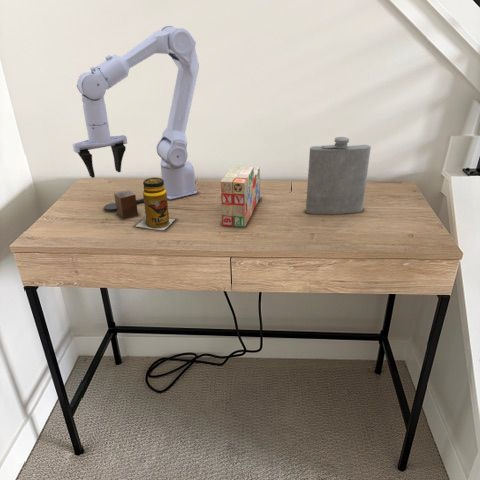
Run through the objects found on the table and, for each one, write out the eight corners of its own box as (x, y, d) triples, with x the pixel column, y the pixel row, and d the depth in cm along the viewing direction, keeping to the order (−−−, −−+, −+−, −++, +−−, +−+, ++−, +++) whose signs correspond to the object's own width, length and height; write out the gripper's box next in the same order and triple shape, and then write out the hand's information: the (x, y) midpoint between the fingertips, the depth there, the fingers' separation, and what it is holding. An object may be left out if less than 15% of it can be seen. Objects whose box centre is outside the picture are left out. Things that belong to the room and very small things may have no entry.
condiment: (164, 230, 132) (159, 186, 125) (135, 227, 134) (128, 183, 128) (175, 220, 138) (171, 176, 131) (147, 216, 140) (141, 173, 133)
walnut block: (138, 215, 141) (135, 194, 137) (123, 219, 139) (120, 198, 135) (131, 210, 144) (128, 190, 140) (117, 214, 142) (113, 193, 138)
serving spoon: (152, 196, 152) (151, 193, 152) (158, 201, 149) (158, 198, 149) (102, 208, 145) (101, 205, 145) (108, 213, 142) (107, 210, 142)
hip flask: (360, 207, 144) (370, 134, 132) (364, 213, 140) (374, 139, 129) (304, 209, 143) (309, 136, 131) (307, 215, 140) (312, 140, 128)
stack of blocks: (239, 196, 152) (239, 155, 145) (260, 198, 150) (260, 156, 143) (221, 225, 134) (220, 180, 127) (244, 227, 133) (244, 182, 126)
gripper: (116, 116, 140) (123, 165, 147) (65, 124, 133) (75, 175, 141) (127, 121, 135) (134, 171, 143) (74, 129, 128) (84, 182, 136)
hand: (105, 173), depth 141 cm, fingers open, 7 cm apart
